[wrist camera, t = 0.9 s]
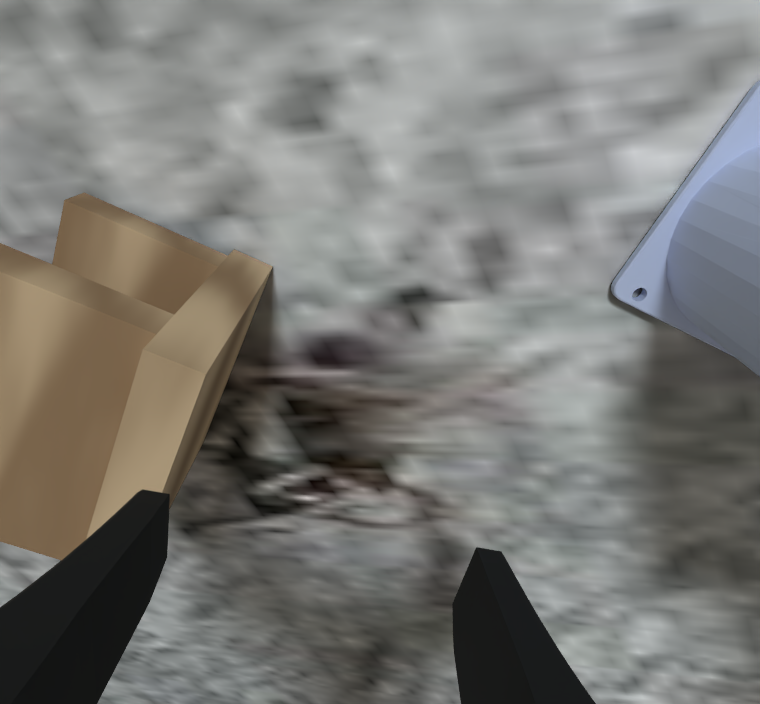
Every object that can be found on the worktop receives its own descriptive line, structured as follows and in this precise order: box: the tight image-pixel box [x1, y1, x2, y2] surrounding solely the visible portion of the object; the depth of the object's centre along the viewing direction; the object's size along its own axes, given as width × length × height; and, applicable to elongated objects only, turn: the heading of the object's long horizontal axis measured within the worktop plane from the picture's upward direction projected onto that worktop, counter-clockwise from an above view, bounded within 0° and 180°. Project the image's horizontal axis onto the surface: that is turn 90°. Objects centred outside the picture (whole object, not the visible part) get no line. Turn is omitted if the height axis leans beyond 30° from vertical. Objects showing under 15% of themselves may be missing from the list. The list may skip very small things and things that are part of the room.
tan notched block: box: [0, 193, 273, 560], centre depth 17 cm, size 8×9×6 cm
